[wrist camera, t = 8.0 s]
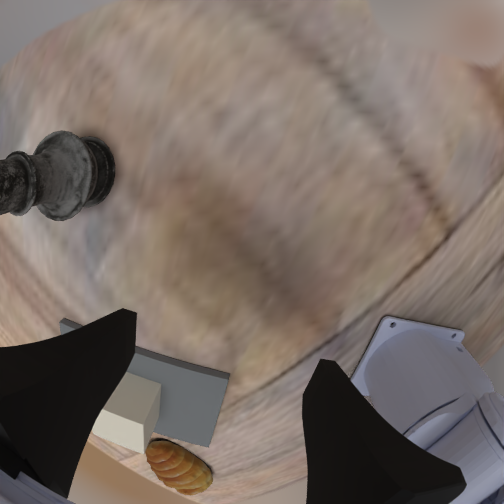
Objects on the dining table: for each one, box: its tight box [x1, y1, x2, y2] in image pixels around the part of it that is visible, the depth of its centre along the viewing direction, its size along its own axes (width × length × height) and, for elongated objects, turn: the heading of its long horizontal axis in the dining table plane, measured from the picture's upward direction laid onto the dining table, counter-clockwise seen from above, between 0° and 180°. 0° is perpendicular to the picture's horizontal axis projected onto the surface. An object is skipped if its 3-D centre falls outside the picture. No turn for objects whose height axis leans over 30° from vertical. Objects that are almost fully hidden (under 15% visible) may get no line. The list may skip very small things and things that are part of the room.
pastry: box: [145, 440, 213, 495], centre depth 26 cm, size 9×7×4 cm
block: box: [92, 372, 161, 454], centre depth 21 cm, size 5×5×5 cm
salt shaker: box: [0, 131, 115, 221], centre depth 13 cm, size 6×6×12 cm
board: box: [59, 318, 230, 447], centre depth 24 cm, size 16×11×1 cm
